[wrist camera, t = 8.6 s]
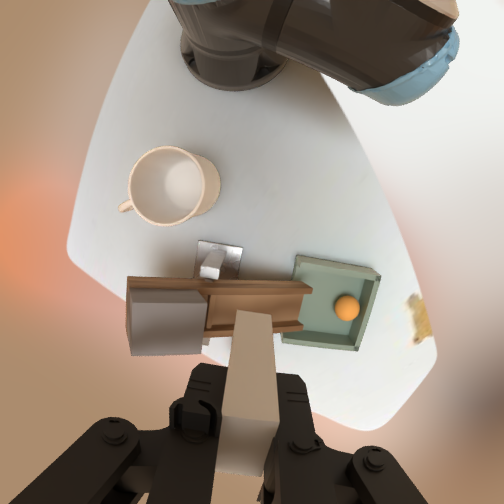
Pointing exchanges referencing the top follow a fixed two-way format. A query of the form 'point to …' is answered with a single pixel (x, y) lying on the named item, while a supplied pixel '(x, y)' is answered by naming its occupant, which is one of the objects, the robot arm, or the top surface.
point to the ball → (347, 308)
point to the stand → (216, 263)
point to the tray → (332, 303)
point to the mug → (171, 186)
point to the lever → (202, 310)
